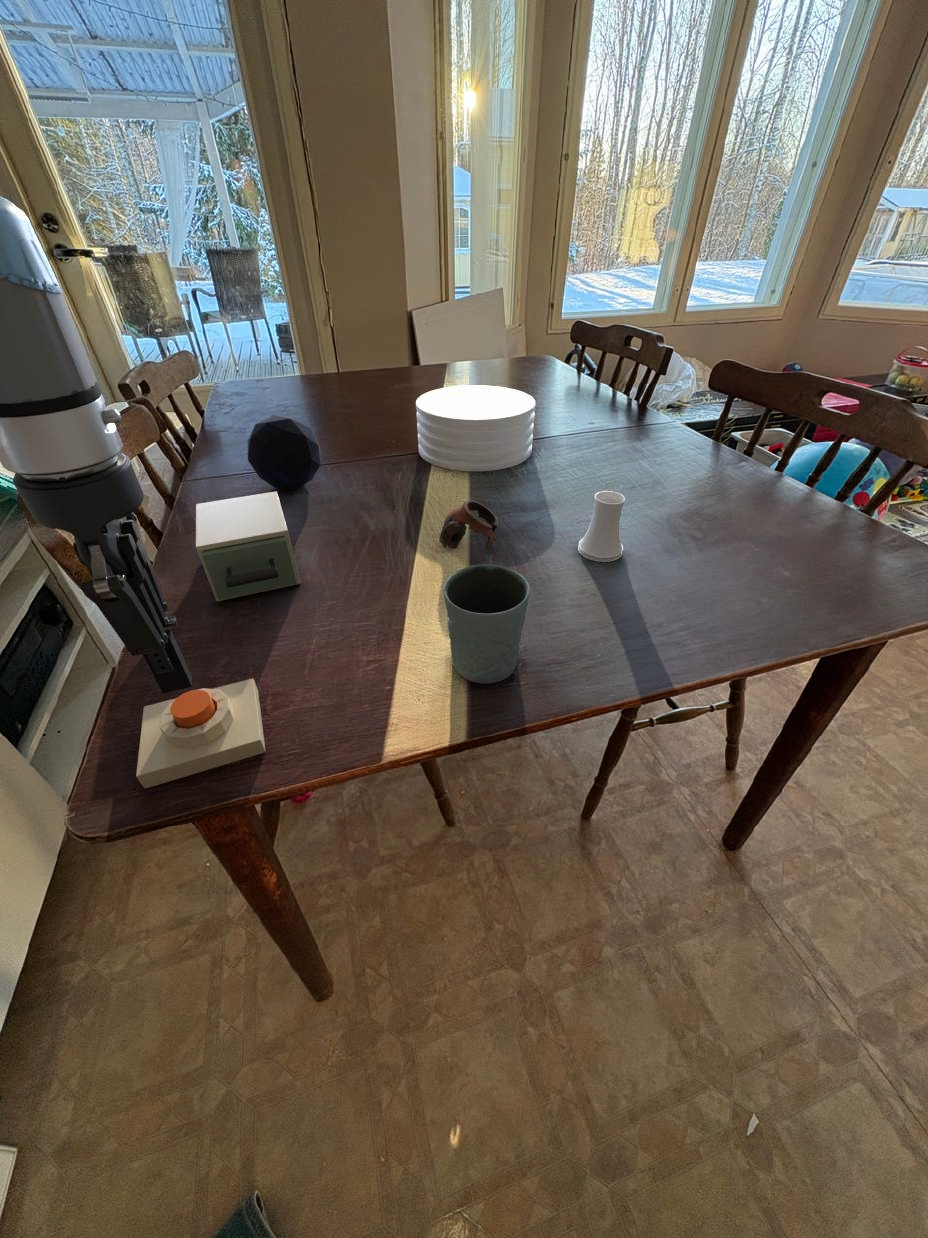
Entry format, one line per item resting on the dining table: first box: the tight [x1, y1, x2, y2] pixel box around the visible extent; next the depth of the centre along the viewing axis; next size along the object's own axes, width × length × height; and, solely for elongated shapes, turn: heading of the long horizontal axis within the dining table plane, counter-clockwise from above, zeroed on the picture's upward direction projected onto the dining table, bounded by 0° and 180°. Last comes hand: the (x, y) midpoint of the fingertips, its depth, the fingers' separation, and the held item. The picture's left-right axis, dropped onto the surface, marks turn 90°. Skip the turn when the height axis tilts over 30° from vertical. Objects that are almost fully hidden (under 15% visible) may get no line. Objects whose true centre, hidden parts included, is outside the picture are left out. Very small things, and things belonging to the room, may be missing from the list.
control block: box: [135, 677, 266, 790], centre depth 57 cm, size 12×10×4 cm
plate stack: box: [415, 384, 536, 472], centre depth 123 cm, size 28×28×12 cm
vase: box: [577, 490, 626, 563], centre depth 86 cm, size 8×8×10 cm
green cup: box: [442, 563, 531, 685], centre depth 63 cm, size 10×10×12 cm
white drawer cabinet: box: [195, 490, 302, 602], centre depth 82 cm, size 15×13×10 cm
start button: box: [170, 689, 216, 729], centre depth 55 cm, size 4×4×2 cm
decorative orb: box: [247, 414, 322, 490], centre depth 107 cm, size 14×15×15 cm
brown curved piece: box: [439, 500, 500, 550], centre depth 89 cm, size 12×10×8 cm
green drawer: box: [202, 536, 298, 601], centre depth 79 cm, size 18×11×8 cm, turn 22°
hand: (177, 685), depth 53 cm, fingers closed
